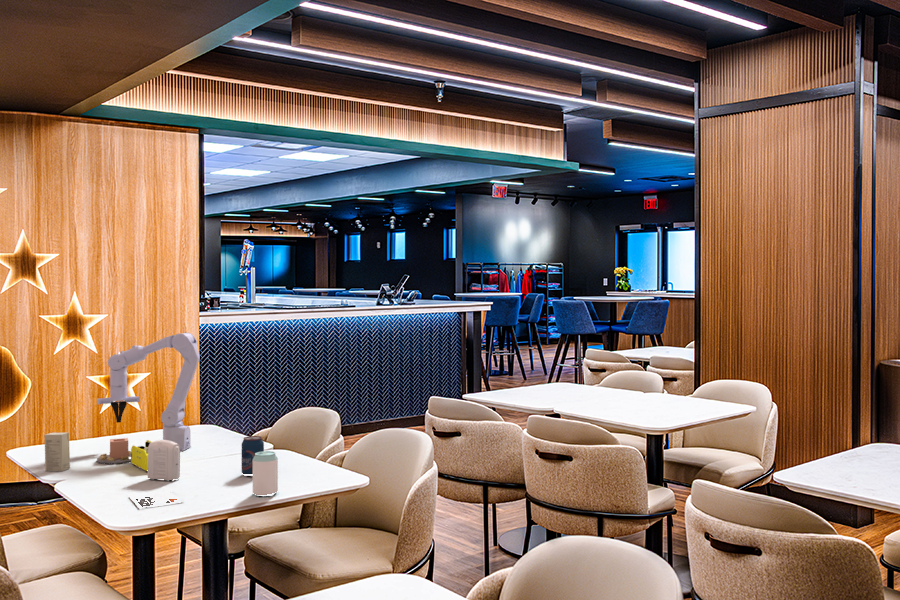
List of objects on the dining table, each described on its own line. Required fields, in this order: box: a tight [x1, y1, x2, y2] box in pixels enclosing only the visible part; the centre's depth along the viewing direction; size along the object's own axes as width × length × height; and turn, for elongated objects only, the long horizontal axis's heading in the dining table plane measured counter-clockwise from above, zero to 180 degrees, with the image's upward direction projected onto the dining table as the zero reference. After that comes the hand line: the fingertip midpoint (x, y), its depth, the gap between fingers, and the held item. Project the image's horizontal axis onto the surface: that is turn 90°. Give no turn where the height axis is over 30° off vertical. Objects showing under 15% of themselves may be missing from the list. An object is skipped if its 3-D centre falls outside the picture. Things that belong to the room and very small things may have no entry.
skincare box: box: [44, 432, 71, 472], centre depth 248 cm, size 6×4×12 cm
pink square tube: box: [109, 437, 129, 459], centre depth 264 cm, size 6×6×6 cm
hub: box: [96, 450, 131, 465], centre depth 263 cm, size 14×14×4 cm
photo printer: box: [147, 439, 181, 481], centre depth 234 cm, size 10×4×12 cm, turn 72°
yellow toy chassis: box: [130, 439, 152, 472], centre depth 251 cm, size 16×6×8 cm, turn 40°
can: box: [252, 450, 279, 496], centre depth 216 cm, size 7×7×12 cm
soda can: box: [241, 435, 265, 475], centre depth 240 cm, size 7×7×12 cm
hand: (118, 422), depth 282 cm, fingers closed
